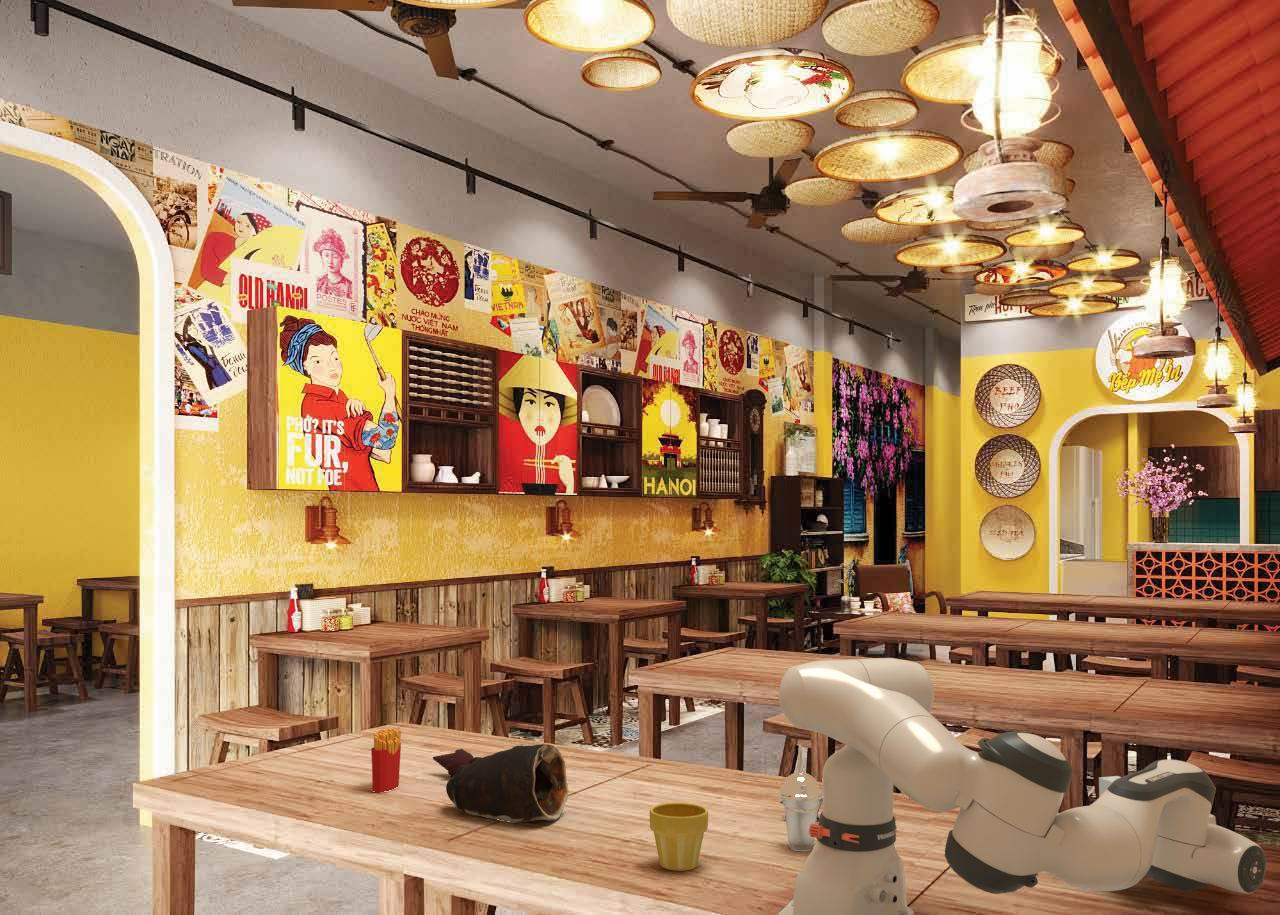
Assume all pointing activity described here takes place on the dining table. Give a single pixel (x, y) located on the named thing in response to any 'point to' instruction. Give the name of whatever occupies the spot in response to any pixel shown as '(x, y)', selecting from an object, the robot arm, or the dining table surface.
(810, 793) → the cup with straw
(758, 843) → the dining table surface
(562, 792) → the dark brown tapered cylinder
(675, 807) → the plant pot
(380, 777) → the french fries
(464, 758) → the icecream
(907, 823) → the dining table surface
